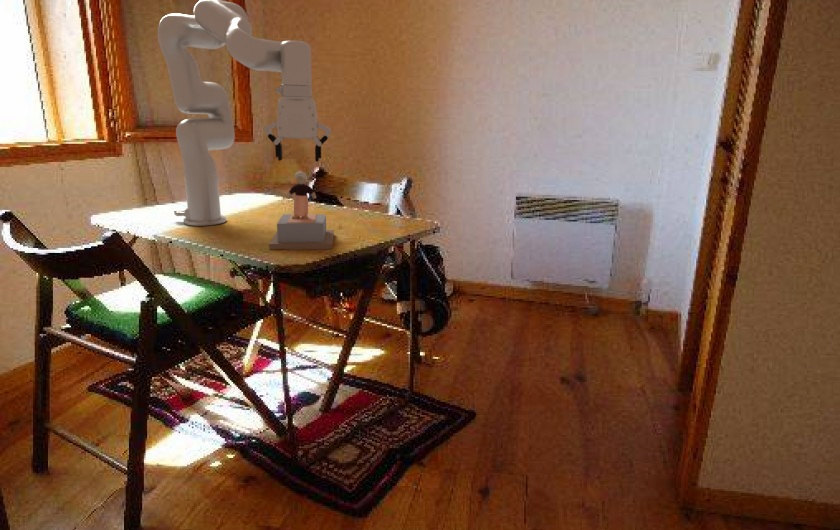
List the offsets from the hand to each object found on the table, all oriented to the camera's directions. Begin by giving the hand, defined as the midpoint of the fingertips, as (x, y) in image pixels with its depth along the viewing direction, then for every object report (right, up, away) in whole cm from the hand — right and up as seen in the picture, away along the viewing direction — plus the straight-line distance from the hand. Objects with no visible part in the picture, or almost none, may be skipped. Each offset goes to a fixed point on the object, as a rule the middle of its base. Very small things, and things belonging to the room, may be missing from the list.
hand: (298, 160), depth 143 cm
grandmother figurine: (0, -15, +4) cm, 16 cm away
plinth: (0, -21, +6) cm, 22 cm away
